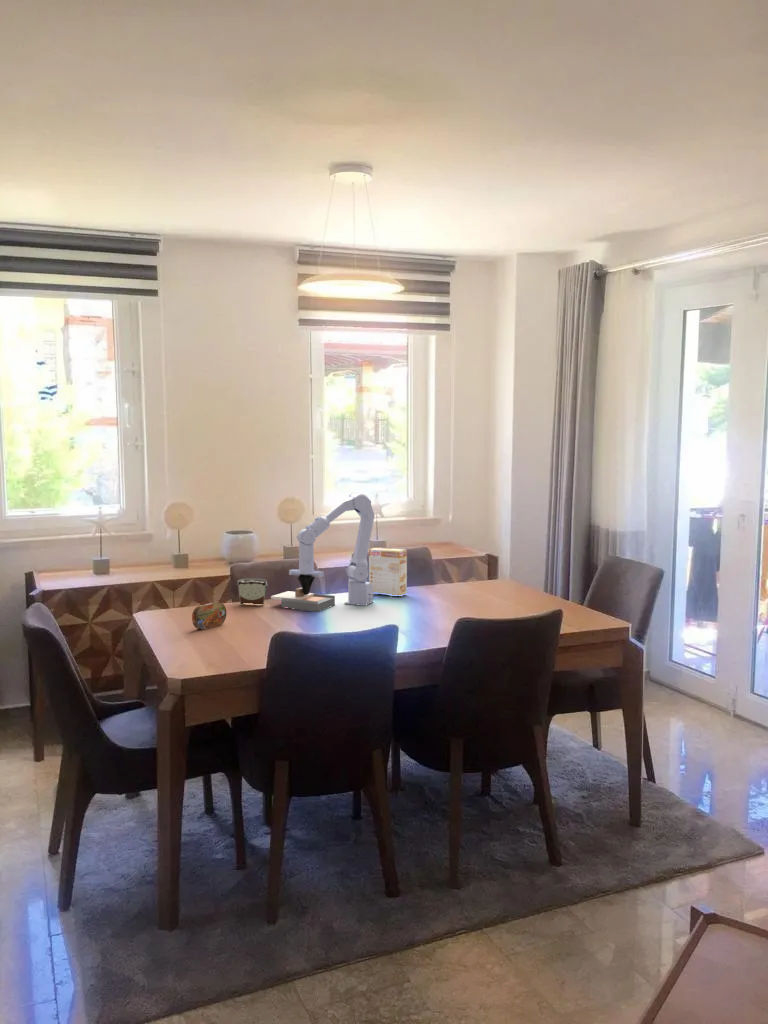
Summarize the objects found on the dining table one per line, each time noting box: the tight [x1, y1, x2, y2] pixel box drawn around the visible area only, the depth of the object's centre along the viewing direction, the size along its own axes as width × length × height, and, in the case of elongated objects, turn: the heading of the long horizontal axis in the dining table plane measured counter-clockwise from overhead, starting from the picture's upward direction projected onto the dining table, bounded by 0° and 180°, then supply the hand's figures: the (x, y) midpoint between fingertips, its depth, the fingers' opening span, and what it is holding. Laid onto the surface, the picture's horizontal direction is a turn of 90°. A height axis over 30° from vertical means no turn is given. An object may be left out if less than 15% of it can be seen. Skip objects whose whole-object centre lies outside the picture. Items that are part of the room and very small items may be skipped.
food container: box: [236, 578, 269, 605], centre depth 343 cm, size 12×6×10 cm, turn 84°
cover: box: [270, 586, 315, 601], centre depth 342 cm, size 12×13×4 cm
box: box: [280, 593, 336, 612], centre depth 339 cm, size 16×14×4 cm
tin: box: [191, 601, 227, 631], centre depth 302 cm, size 15×3×8 cm, turn 148°
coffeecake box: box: [368, 546, 408, 595], centre depth 366 cm, size 15×7×20 cm, turn 59°
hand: (306, 594), depth 339 cm, fingers closed
